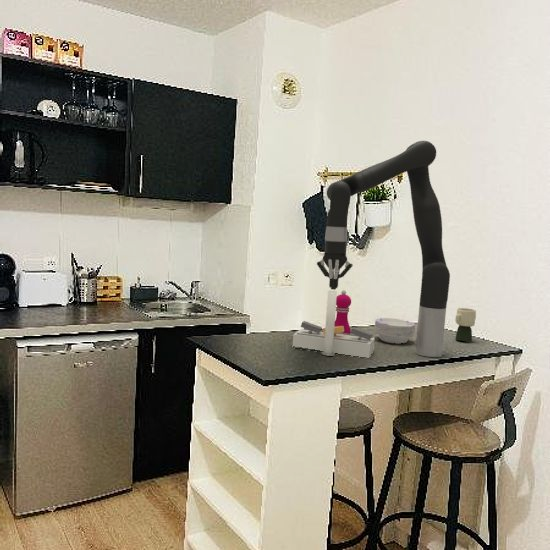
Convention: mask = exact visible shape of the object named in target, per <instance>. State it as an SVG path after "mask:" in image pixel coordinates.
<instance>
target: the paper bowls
mask: <svg viewBox="0 0 550 550" xmlns="http://www.w3.org/2000/svg"><path fill="white" fill-rule="evenodd" d="M415 331H416V323H414V322H413V321H409V320H405V319H403V318H395V317H377V318H376V319H375V320H374V333H376V334H377V335H378V337H379V339H380V340H381V341H383V342H384V343H387V344H388V343H389V344H394V343H395V344H397V345H400V344H401V343H403V344H405V343H407V342H408V341H409V339H410V338H411V339H412V337H414V335H415ZM401 345H402V344H401Z"/></svg>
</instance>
